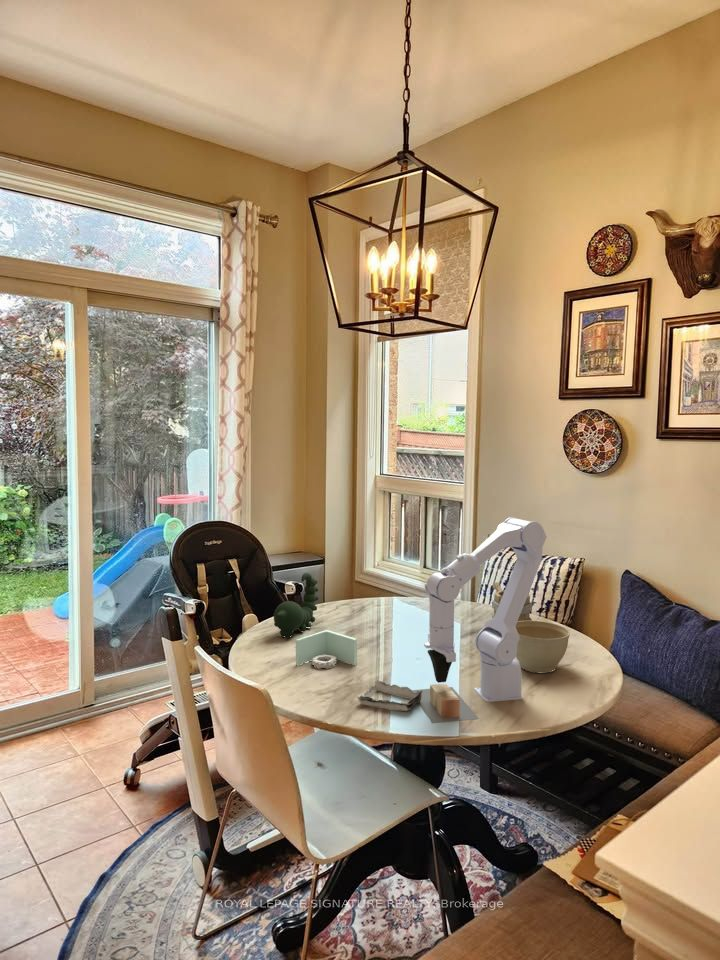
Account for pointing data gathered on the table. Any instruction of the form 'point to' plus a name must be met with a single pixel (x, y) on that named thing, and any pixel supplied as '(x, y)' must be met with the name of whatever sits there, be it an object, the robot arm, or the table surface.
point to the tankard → (498, 596)
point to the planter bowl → (540, 645)
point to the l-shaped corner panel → (326, 649)
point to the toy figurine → (297, 610)
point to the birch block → (444, 700)
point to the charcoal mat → (433, 713)
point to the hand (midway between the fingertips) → (440, 681)
